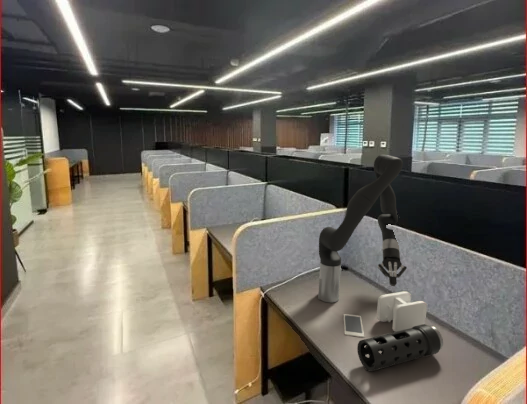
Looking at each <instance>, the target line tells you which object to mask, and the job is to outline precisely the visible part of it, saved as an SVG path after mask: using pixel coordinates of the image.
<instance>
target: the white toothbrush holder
mask: <svg viewBox="0 0 527 404" xmlns="http://www.w3.org/2000/svg"><path fill="white" fill-rule="evenodd" d="M427 311H428V303H426V302H425V301H423V300H418V301H412V294H411V293H410V292H408V291H406V290H405V291H398V292H392V293H386V294H381V295H380V296H379V297H378V298H377V308H376V319H377V320H379V322H381V323H383V322H384V323H385V322H387V323H391V321H392V327H391V328H392V331H394V332H397V331H401V330H405V329H410V328H412V327H414V326H418V325H422V324H425V325H426V317H427Z"/></svg>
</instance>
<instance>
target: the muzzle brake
mask: <svg viewBox="0 0 527 404" xmlns="http://www.w3.org/2000/svg"><path fill="white" fill-rule="evenodd" d="M443 346H444V338H443V336H442V334H441V332H440V330H438V329H437V328H436V327H435V326H433V325H430V324H426V323H425V324H422V325H418V326H414V327H412V328H410V329H405V330H401V331H397V332H395V331H394V332H389V333H385V334H382V335H377V336H372V337H369V338H368V337H367V338H364V339H361V340H359V341H358V343H357V348H356V349H357V356H358V358H359V361H360V363H361V364H362V366H363V367H364V369H365V370H366V371H367V372H373V371H377V370H381V369H384V368H387V367H391V366H395V365H399V364H402V363H405V362H408V361H412V360H415V359H420V358H422V357H429V356H432V355H436V354H438V353H440V351H441V350H442V349H443ZM380 352H381V353H380ZM366 355H368V356H366Z"/></svg>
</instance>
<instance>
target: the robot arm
mask: <svg viewBox="0 0 527 404" xmlns="http://www.w3.org/2000/svg"><path fill="white" fill-rule="evenodd" d="M403 165H404V163H403V160H402V158H400V157H397V156H393V155H388V154H379V155H377V156H376V158H375V160H374V162H373V171H374V176H375V180H374V181H372V182H370V183H368V184H366V185H365V186H363V187H361V188H360V189H358V190H357V191H356V192H355V194H353V196H352V197H351V198H350V200H349V201H348V203H347V207H346V211H345V212H346V213H345V217H344V219H343V220H342V222H341V224H340V225H339V226H338V227H337V228H334V227H332V226H326V227H324V228H323V229H322V230H321V232H320V233H319V236H318V255H319V258H320V259H319V260H320V263H319V278H318V294H317V296H318V297H317V299H318V300H320V301H323V302H325V303H336V302H338V301H339V299H340V283H341V282H340V281H341V269H342V267H341V266H342V256H341V255H340V254H339V252H340V251H342V250H343V249H344V248H345V246H346V244H347V243H348V242H349V240H350V239H351V237H352V235H353V233H354V231H355V230H356V229H357V227H358V226H359V224H360V223H361V221H362V220H363V219H364V217H365V216H366V215H367V213H369V211H370V210H371V209H372V207H373V206H374V204H375V203H376V201H377V200H378V199H379V198H380V199H379V200H380V201H379V202H380V210H381V212H382V214H380V215H379V216H378V217H377V224H378V227H379V229H380V232H381V237H382V239H381V241H382V248H381V250H382V262H381V263H379V264H378V265H377V269H378V270H380V272H381V273H382V275H384V277H387V278H388V281H389V285H390V286H391V287H396V286H397V284H398V283H397V282H398V281H397V278H398V279H400V278H401V276H402V275H403V274H404V273H405V272H406V270H407V269H408V268H407V266H406V265H405V266H404V265H403V263H402V261H401V253H400V246H399V245H398V244H399V241H398V242H397V240H396V238H395V235H394V232H393V230H394V229H393V228H386V225H388V224H391V225H395V224H396V223H397V222H398V215H399V214H398V215H397V213H398V211H397V196H396V194H395V191H394V189H393V188H392V186H391V183H392V182H393V181H394V180H395V179H396V178H397V177H398V175H399V174H400V173H401V171H402V169H403ZM399 269H400V271H399ZM398 271H399V272H398ZM397 272H398V273H397Z"/></svg>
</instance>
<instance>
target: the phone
mask: <svg viewBox="0 0 527 404" xmlns="http://www.w3.org/2000/svg"><path fill="white" fill-rule="evenodd" d="M343 328H344V336H349V337H358V338H364V339H365V334H364V326H363V321H362V316H361V315H357V314H356V315H355V314H346V313H343Z"/></svg>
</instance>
